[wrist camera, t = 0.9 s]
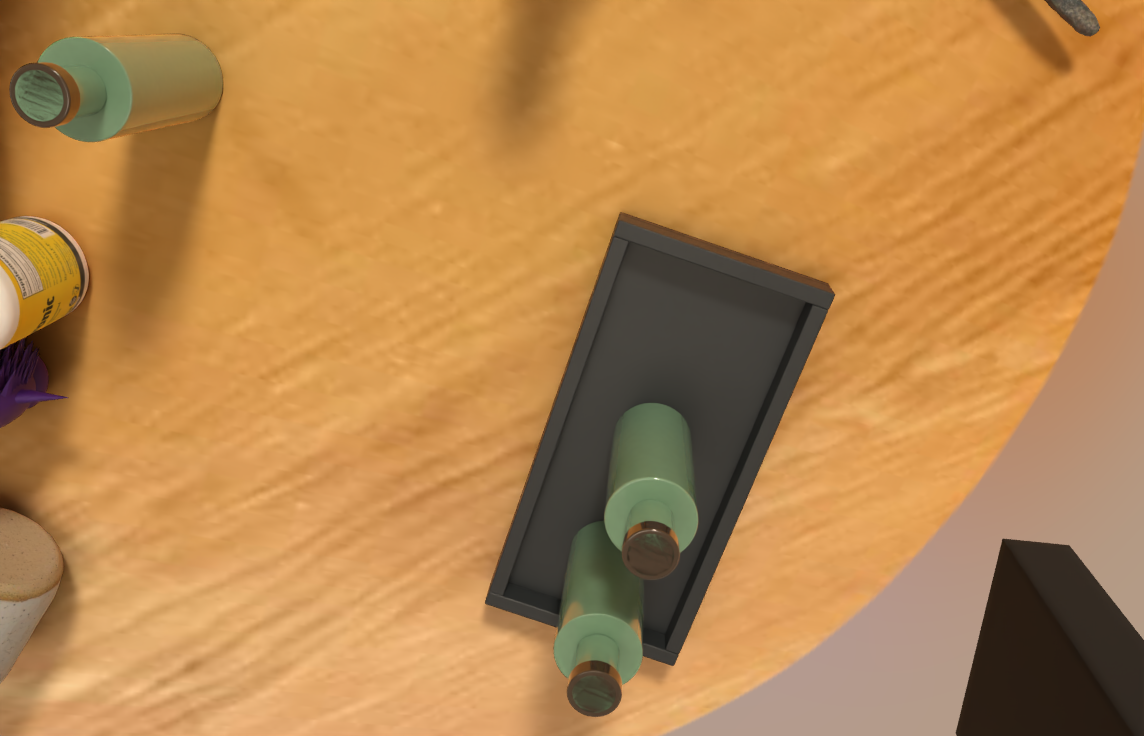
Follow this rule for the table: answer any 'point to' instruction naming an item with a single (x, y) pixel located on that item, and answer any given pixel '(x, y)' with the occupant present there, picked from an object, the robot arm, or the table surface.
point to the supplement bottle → (37, 276)
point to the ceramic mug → (24, 582)
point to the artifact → (1076, 15)
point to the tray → (673, 378)
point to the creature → (21, 381)
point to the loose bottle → (117, 85)
